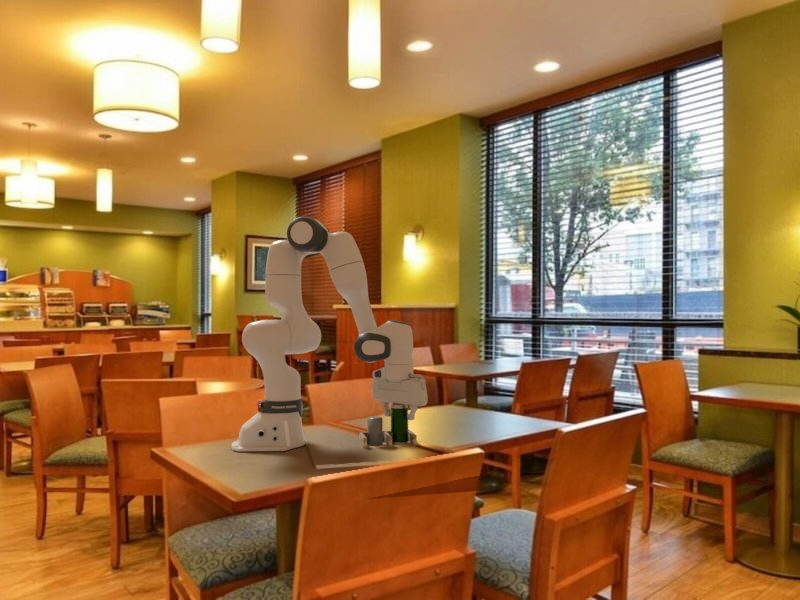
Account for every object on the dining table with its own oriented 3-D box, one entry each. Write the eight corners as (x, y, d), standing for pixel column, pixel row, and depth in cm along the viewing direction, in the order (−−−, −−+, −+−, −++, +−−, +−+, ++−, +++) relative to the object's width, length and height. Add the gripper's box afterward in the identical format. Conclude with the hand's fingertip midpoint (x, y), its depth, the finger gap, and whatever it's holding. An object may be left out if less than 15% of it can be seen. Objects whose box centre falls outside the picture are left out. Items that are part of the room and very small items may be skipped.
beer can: (395, 445, 179) (394, 405, 180) (388, 442, 184) (387, 403, 184) (411, 444, 181) (411, 404, 182) (403, 440, 186) (403, 402, 187)
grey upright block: (368, 446, 179) (368, 419, 179) (366, 443, 183) (366, 416, 183) (383, 445, 180) (383, 418, 180) (380, 442, 184) (380, 416, 184)
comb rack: (363, 451, 176) (363, 438, 176) (358, 445, 185) (358, 432, 185) (416, 448, 180) (416, 435, 180) (409, 442, 188) (409, 429, 189)
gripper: (431, 374, 179) (432, 420, 179) (382, 370, 193) (382, 413, 192) (418, 375, 174) (418, 423, 174) (368, 371, 188) (368, 415, 188)
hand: (399, 418), depth 183 cm, fingers open, 8 cm apart
